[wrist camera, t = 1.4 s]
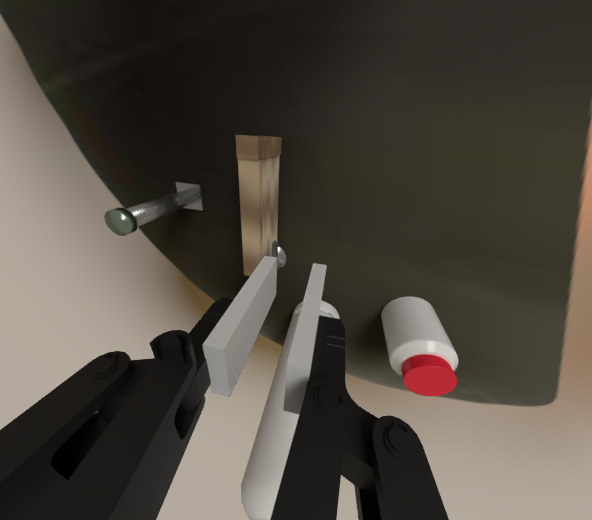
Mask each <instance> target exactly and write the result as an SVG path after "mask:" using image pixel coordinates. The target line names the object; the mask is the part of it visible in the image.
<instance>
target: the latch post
mask: <svg viewBox="0 0 592 520" xmlns="http://www.w3.org/2000/svg"><path fill="white" fill-rule="evenodd" d="M176 187H177V193H174V194H171V195H168V196H165V197H162V198H158V199H155V200H152V201H149V202H146V203H143V204H140V205H136V206H133V207H130V208H127V209H125V208H116V209H113V210H110V211H107V212H106V213H105V221H106V224H107V226H108V227H109V228H110V229H111V230H112V231H113V232H114V233H116V234H117V235H121V236H125V235H127V234H130V233H132V232H134V231H136V229H137V227H138V226H141V225H143V224H145V223H148V222H150V221H152V220H155V219H157V218H159V217H162V216H164V215H167V214H169V213H171V212H174V211H176V210H178V209H181V208H188V209H195V210H205V206H204V198H203V191H202V184H195V183H187V182H176Z"/></svg>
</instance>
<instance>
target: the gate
mask: <svg viewBox="0 0 592 520" xmlns="http://www.w3.org/2000/svg"><path fill="white" fill-rule="evenodd" d="M281 143H282V137H271V136H251V135H236V152H237V158H238V171H239V190H240V209H241V227H242V246H243V265H244V275H247V276H251V274H252V273H253V272H254V270H255V269H256V267H257V266H258V264H259V263H260V262H261V260H262V259H263V257H264V256H271V257H277V256H278V241H277V220H278V187H279V155H281Z"/></svg>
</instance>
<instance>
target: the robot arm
mask: <svg viewBox="0 0 592 520" xmlns="http://www.w3.org/2000/svg"><path fill="white" fill-rule="evenodd" d="M326 266H327V265H321V264H315V263H313V266H312V270H311V274H310V278H309V282H308V286H307V289H306V293H305V297H304V301H303V305H302V308H301V312H300V316H299V320H298V324H297V327H296V331H295V335H294V339H293V343H292V346H291V350H290V354H289V358H288V362H287V369H286V382H285V395H284V408H283V411H287V412H291V413H295V414H299V418H298V421H297V425H296V429H295V432H294V436H293V439H292V443H291V447H290V450H289V454H288V457H287V461H286V465H285V468H284V472H283V476H282V479H281V483H280V486H279V490H278V494H277V497H276V501H275V504H274V508H273V512H272V515H271V519H270V520H336V516H337V506H338V497H339V487H340V478H341V475H342V476H343V477H345V478H346V479H347V480H349V481H350V482H351V483H353V484H354V485H355V493H356V502H357V510H358V518H359V520H449V519H448V516H447V513H446V511H445V508H444V505H443V502H442V499H441V496H440V494H439V491H438V488H437V485H436V482H435V480H434V477H433V474H432V471H431V468H430V465H429V463H428V460H427V457H426V454H425V451H424V449H423V446H422V444H421V442H420V440H419V438H418V436H417V434H416V433H415V432H414V430H413V429H412V428H411V427H410V426H409V425H408V424H407V423H405V422H404V421H402V420H401V419H399V418H396V417H393V416H382V417H381V418H377V417H375V416H374V415H372V414H370V413H369V412H367V411H365V410H364V409H362V408H361V407H359V406H358V405H357V404H356V403H355V402H354V401H353V400H352V399H351V397H350V395H349V394H348V392H347V389H346V385H345V327H344V325H343V323H342V321H341V319H337V318H332V317H326V316H321V315H319V312H320V305H321V299H322V292H323V286H324V279H325V273H326ZM276 278H277V257H271V256H264V257H263V259H262V260H261V262H260V263H259V264H258V266H257V267H256V269H255V270H254V272H253V273H252V274H251V276H250V277H249V279H248V280H247V282H246V283H245V285H244V286H243V287H242V289H241V290H240V292H239V293H238V295H237V296H236V297H235V299H228V298H223V297H222V298H221V299H219V300H218V301H216V302H215V303H213V304H212V305H211V307H210V308H209V309H208V311H207V313H205V314H204V315H203V317H202V318H201V320H199V322H198V323H197V324H196V325H195V327H194V328H193V329H192V330H191V332H190V333H189V334H188V333H187V332H185V331H182V330H172V331H168V332H165V333H163V334H161V335H159V336H157V337H156V338H155V339H154V340H153V341H151V342H150V346H151V348H152V351H153V354H154V357H155V358H153V359H142V360H131V359H130V357H129V356H128V355H127V354H126V353H125V352H120V351H115V352H109V353H107V354H104V355H101V356H99V357H97V358H96V359H94V360H92V361H91V362H89V363H88V364H87V365H86V366H84V367H83V368H82V369H80V370H79V371H78V372H76V373H75V374H74V375H72V376H71V377H70V378H68V379H67V380H66V381H65V382H63V383H62V384H60V385H59V386H58V387H56V388H55V389H54V390H53V391H51V392H50V393H49V394H47V395H46V396H45V397H43V398H42V399H41V400H39V401H38V402H37V403H35V404H34V405H33V406H31V407H30V408H29V409H27V410H26V411H25V412H24V413H22V414H21V415H20V416H18V417H17V418H16V419H14V420H13V421H12V422H10V423H9V424H8V425H6V426H5V427H4V428H2V429H1V430H0V520H156V518H157V516H158V514H159V511H160V509H161V507H162V504H163V502H164V499H165V497H166V495H167V492H168V490H169V488H170V485H171V483H172V480H173V478H174V476H175V473H176V471H177V469H178V466H179V464H180V462H181V459H182V457H183V455H184V452H185V450H186V447H187V445H188V443H189V440H190V438H191V436H192V433H193V431H194V428H195V426H196V424H197V421H198V419H199V417H200V414H201V412H202V409H203V407H204V403H205V396H204V394H205V393H206V391H207V389H208V387H209V386H210V385H211V390H212V392H213V393H217V394H221V395H224V396H228V397H230V396H231V394H232V391H233V389H234V387H235V384H236V382H237V380H238V378H239V376H240V374H241V371H242V369H243V367H244V365H245V362H246V360H247V358H248V356H249V353H250V351H251V349H252V347H253V345H254V342H255V340H256V338H257V335H258V333H259V331H260V329H261V327H262V325H263V322H264V320H265V318H266V316H267V313H268V311H269V309H270V307H271V305H272V302H273V300H274V298H275V296H276ZM97 411H98V412H97ZM96 412H97V413H96Z"/></svg>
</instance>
